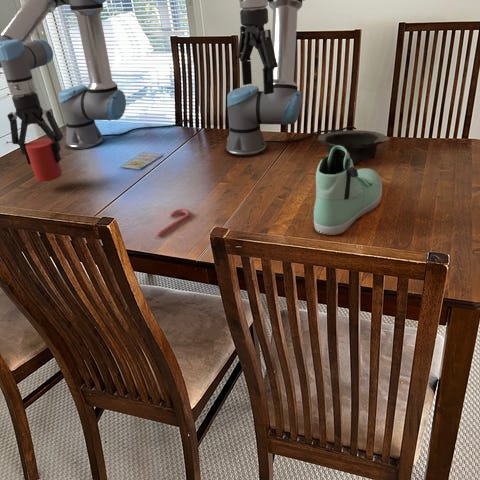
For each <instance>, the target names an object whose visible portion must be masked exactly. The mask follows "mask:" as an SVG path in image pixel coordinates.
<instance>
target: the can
mask: <svg viewBox="0 0 480 480" xmlns="http://www.w3.org/2000/svg"><path fill="white" fill-rule="evenodd" d="M26 143H27V144H26V145H25V147H26V150H27V153H28V156H29V159H30V162H31V164H30V166H31V168H32V171H33V174H34V177H35V180H36V181H38V182H49V181H54V180H56V179H58V178H60V177H61V176H62V175H63V171H62V168H61V165H60V161H59V162H56V160H55V156H54V153H53V149H52V146H51V143H52V140H51V139H50V138H39V139H33V140H31V141H28V142H26Z"/></svg>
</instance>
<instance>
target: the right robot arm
mask: <svg viewBox="0 0 480 480" xmlns="http://www.w3.org/2000/svg"><path fill="white" fill-rule="evenodd" d="M304 1H306V0H239V8H240V11H239V15H240V16H239V19H240V24H241V25H240V26H239V31H240V32H239V33H240V34H239V42H238V48H237V56H236V57H237V59H239V61H240V62H241V76H242V85H243V86H242V87H238V88H235V89H233V90H231V91H229V92H228V93H227V97H226V100H227V101H226V103H227V104H226V107H227V115H228V116H227V117H228V127H229V129H228V130H229V133H228V136H227V139H226V140H227V142H226V146H225V147H226V148H225V149H226V153H227V154H228V155H229V156H232V157H236V158H237V157H239V158H250V157H256V156H258V155H262V154H263V153H264V152H265V151H266V150H267V144H268V143H269V144H270V143H273V144H277V143H278V144H282V143H283V144H285V143H294V142H299V141H304V140H306V139H308V138H310V137H313V136H314V135H316V134H317V135H318V134H324V133H329V132H334V131H345V130H349V129H353V130H356V131H357V128H356V127H355V126H353V125H348V126H345V127H342V128H338V129H325V130H324V129H323V130H318V131H314V132H312V133H310V134H309V135H306V136H303V137H300V138H294V139H287V140H285V139H284V140H265V138H264V136H263V135H264V134H263V133H262V129H261V125H281V126H285V125H294V124H296V123H297V121H298V119H299V116H300V113H301V106H302V98H303V96H302V92H301V90H298V89H299V86H298V85H297V83H296V82H295V66H296V65H295V63H296V47H297V46H296V44H297V27H298V11H299V10H300V9H301V8H302V7H303V2H304ZM267 7H269V8H270V9H271V10H272V24H271V25H272V26H271V29H270V28H269V29H265V25H267V24H268V23H269V9H268V8H267ZM254 48H255V49H256V50H257V52H258V55H259V58H260V60H261V63H262V65H263V68H262V76H263V77H262V79H263V81H262V83H263V90H260V88H259V86H258V85H257V86H256V85H253V77H252V75H253V74H252V57H251V55H252V52H253V49H254Z"/></svg>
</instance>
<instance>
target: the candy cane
mask: <svg viewBox="0 0 480 480" xmlns="http://www.w3.org/2000/svg"><path fill="white" fill-rule="evenodd" d="M181 214H184V215H182V216H181V217H179V218H178V219H176V220H175V221H173V222H171V223H170V224H168V225H167V226H165V227H164V228H162V229H161V230H159V231H158V232H156V236H157V237H159V238H160V237H162V236H164V235H166V234H167V233H168V232H170V231H171V230H173V229H175V228H176V227H178V226H180V225H181V224H182V223H184V222H185V221H187V220H189V218H191V215H192V214H191V211H190V210H189V209H186V208H179V209H178V208H177V209H175V210H173V211H172V212H171V213H170V217H172V218H175V216H178V215H181Z"/></svg>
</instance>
